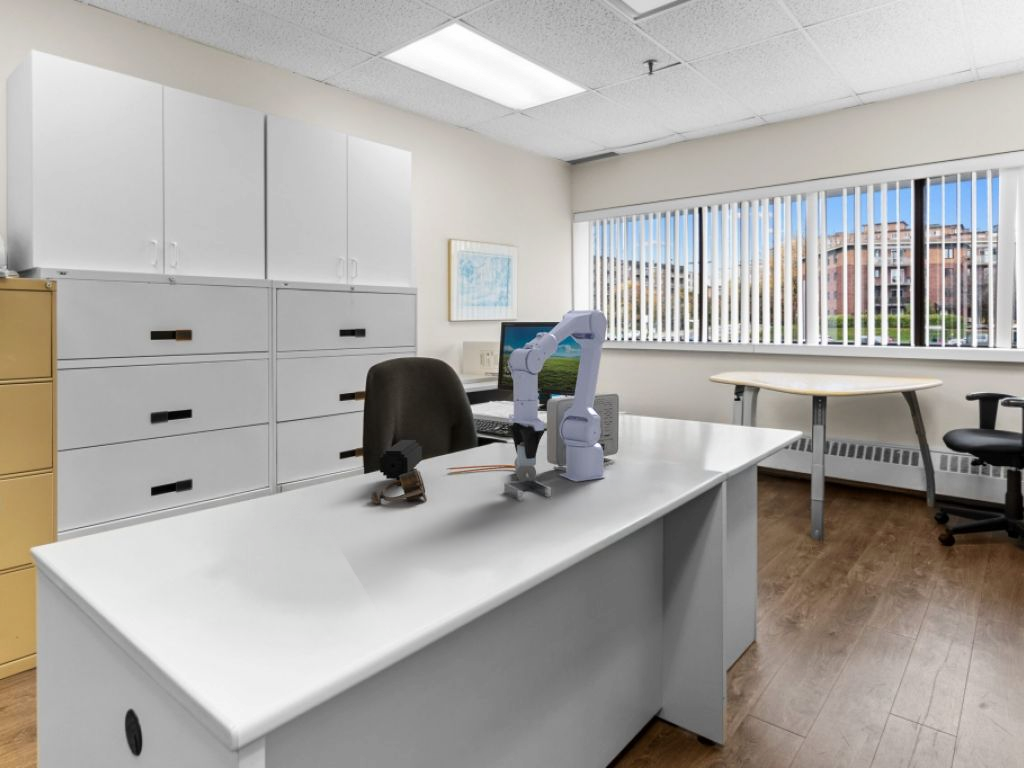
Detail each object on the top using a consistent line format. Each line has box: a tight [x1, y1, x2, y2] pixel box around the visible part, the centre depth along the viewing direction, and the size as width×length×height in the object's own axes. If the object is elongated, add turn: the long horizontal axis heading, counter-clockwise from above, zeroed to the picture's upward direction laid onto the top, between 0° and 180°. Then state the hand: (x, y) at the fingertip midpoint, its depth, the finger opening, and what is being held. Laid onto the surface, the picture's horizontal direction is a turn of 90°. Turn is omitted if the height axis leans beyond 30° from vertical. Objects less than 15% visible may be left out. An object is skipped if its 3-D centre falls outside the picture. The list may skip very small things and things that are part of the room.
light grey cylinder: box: [516, 441, 537, 466], centre depth 150 cm, size 4×4×5 cm
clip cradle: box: [503, 479, 552, 502], centre depth 150 cm, size 8×9×2 cm
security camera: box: [379, 439, 423, 487], centre depth 162 cm, size 7×18×10 cm, turn 175°
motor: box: [446, 456, 537, 481], centre depth 165 cm, size 23×22×5 cm
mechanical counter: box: [370, 469, 428, 505], centre depth 146 cm, size 7×13×10 cm
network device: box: [546, 392, 620, 472], centre depth 180 cm, size 26×9×20 cm, turn 130°
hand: (525, 456), depth 150 cm, fingers closed on light grey cylinder, 4 cm apart
